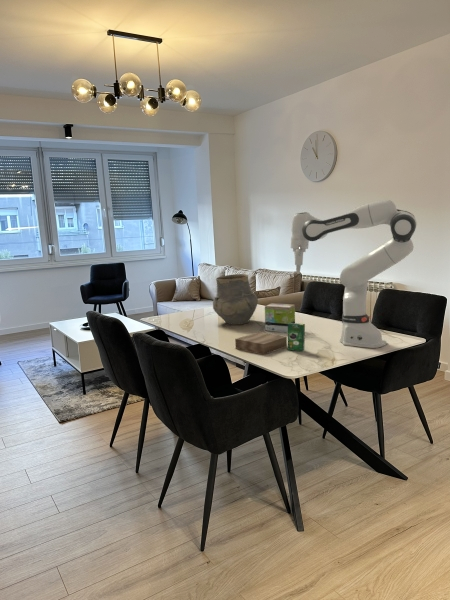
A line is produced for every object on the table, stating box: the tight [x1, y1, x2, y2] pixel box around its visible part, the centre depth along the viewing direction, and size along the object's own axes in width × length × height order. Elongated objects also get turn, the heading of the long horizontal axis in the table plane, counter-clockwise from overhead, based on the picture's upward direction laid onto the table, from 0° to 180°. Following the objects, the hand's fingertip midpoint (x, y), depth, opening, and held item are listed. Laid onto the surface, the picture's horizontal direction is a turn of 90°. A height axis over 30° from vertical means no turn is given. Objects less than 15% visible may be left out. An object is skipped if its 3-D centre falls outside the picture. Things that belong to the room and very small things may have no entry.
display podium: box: [234, 331, 288, 355], centre depth 226 cm, size 18×18×5 cm
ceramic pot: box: [212, 273, 259, 326], centre depth 286 cm, size 28×28×30 cm
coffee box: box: [287, 322, 306, 352], centre depth 217 cm, size 8×3×13 cm, turn 65°
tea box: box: [264, 302, 296, 334], centre depth 261 cm, size 15×10×15 cm
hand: (297, 272), depth 233 cm, fingers open, 8 cm apart
